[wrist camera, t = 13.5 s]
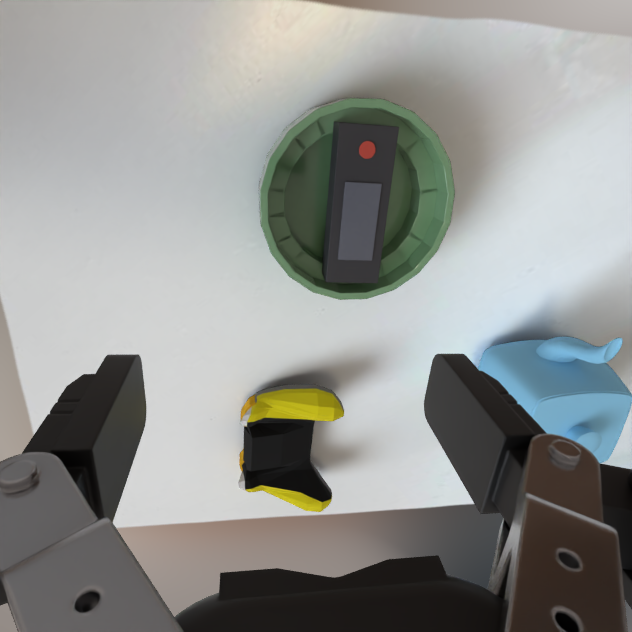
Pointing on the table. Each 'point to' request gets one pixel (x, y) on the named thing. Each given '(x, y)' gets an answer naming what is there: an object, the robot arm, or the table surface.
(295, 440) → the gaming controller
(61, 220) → the table surface
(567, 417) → the teapot
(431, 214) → the bowl
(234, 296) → the table surface
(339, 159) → the remote
